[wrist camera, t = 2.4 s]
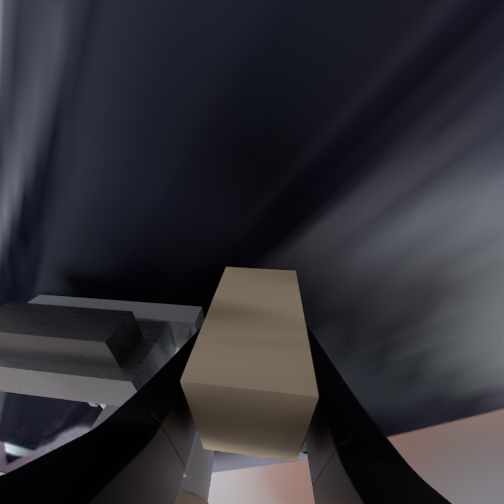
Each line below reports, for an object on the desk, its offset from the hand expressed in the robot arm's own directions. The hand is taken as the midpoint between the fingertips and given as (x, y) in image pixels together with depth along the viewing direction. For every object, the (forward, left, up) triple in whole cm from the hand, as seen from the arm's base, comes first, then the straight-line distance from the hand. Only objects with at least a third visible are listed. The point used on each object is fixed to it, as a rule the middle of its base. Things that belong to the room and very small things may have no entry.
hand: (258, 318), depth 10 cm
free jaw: (-1, +9, 0) cm, 9 cm away
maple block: (0, 0, -1) cm, 1 cm away
